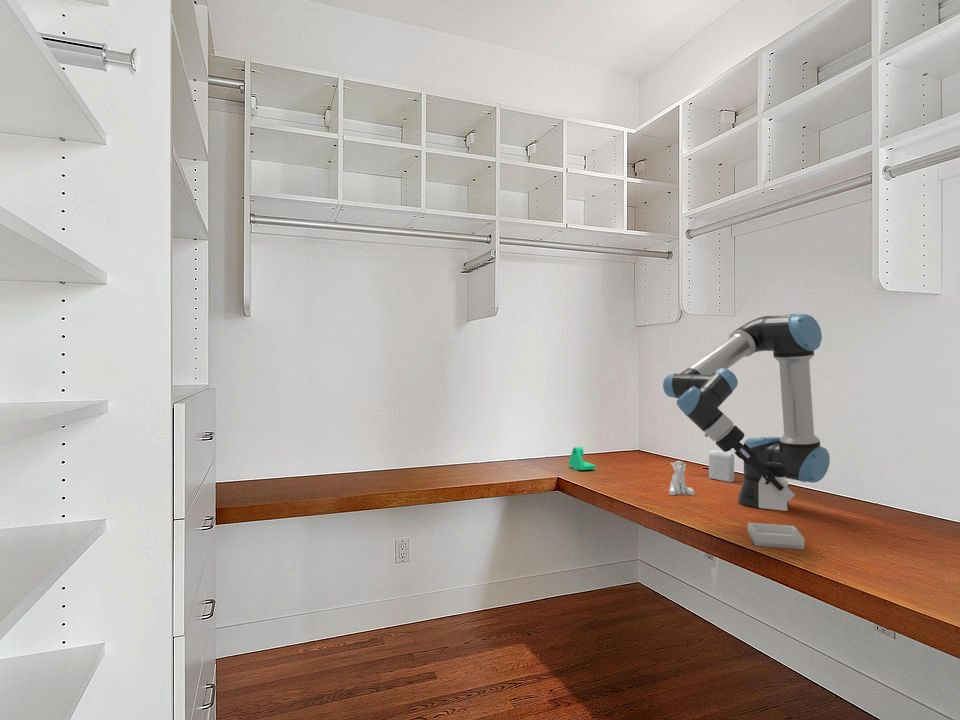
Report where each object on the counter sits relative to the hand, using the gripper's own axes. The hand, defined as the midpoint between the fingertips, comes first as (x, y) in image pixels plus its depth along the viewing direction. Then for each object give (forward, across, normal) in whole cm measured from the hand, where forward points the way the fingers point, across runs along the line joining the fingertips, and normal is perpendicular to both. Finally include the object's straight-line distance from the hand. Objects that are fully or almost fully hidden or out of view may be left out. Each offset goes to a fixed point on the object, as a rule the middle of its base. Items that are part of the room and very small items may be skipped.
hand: (787, 494), depth 162 cm
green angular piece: (-37, -93, -56) cm, 115 cm away
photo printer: (+4, -84, -15) cm, 86 cm away
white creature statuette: (-9, -54, -28) cm, 62 cm away
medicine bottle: (0, 0, -5) cm, 5 cm away
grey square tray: (+7, 0, -11) cm, 13 cm away
